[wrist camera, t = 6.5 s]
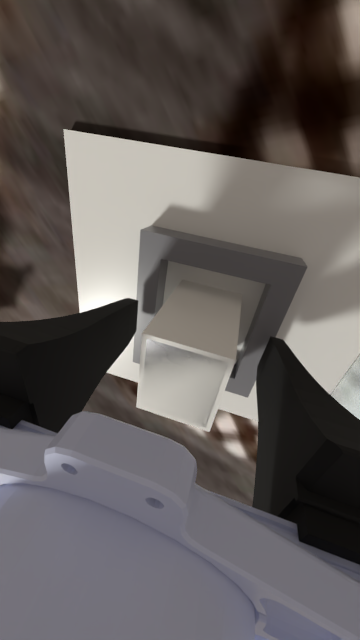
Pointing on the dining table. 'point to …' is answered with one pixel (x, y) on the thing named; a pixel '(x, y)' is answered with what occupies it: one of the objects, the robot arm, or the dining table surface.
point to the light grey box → (189, 354)
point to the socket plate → (220, 249)
